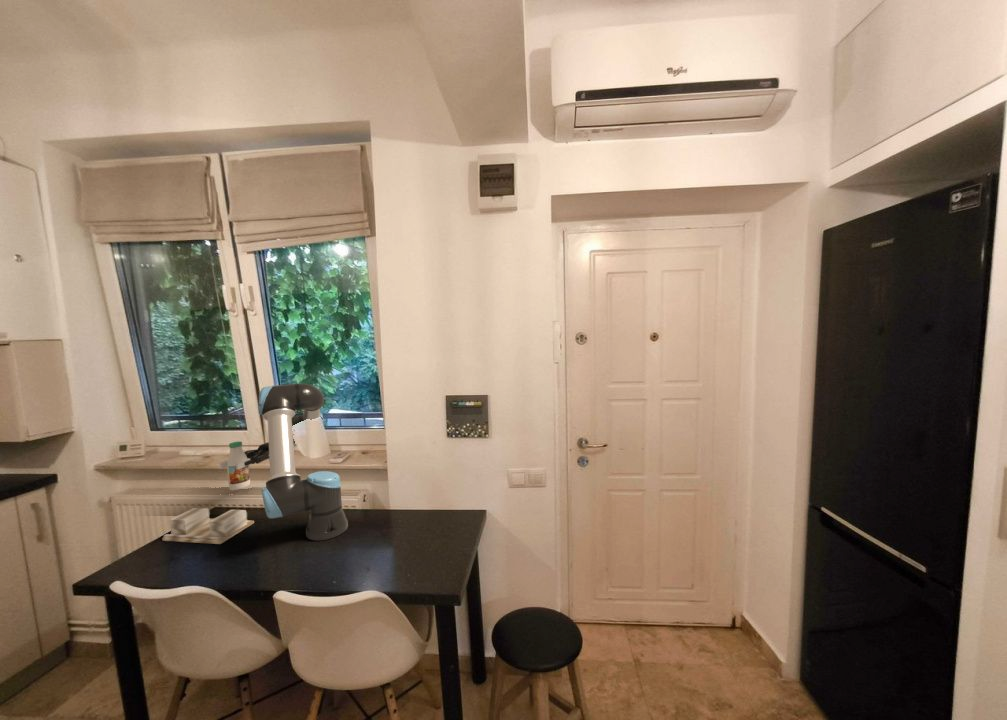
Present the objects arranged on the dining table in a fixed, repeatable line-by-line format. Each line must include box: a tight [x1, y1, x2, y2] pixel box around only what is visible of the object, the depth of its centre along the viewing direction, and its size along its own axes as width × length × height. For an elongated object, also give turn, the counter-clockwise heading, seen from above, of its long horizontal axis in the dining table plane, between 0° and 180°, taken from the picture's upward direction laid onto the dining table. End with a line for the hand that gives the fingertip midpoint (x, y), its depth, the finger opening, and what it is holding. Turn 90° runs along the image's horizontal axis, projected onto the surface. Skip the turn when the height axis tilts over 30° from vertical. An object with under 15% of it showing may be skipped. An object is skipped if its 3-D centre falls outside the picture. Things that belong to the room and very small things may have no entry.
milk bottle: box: [226, 440, 251, 491], centre depth 164 cm, size 8×8×20 cm
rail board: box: [162, 507, 255, 545], centre depth 152 cm, size 26×16×7 cm, turn 81°
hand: (228, 466), depth 159 cm, fingers closed on milk bottle, 7 cm apart
